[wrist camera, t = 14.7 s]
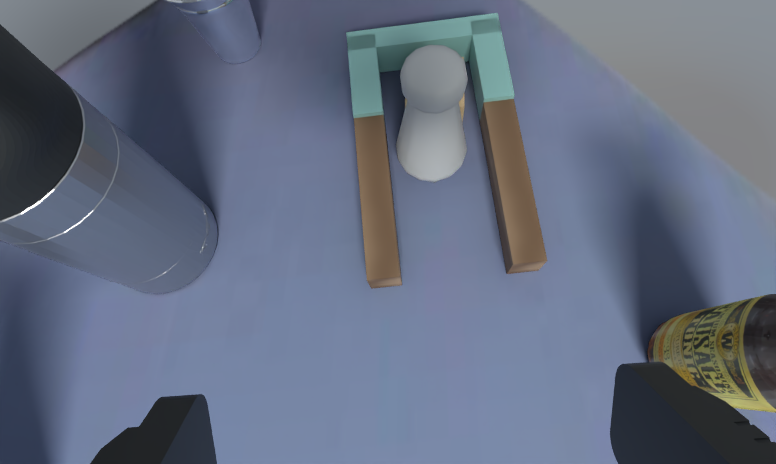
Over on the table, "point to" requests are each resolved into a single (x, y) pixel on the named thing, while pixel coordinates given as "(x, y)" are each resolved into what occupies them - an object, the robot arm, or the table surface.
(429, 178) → the salt shaker
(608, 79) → the table surface
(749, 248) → the table surface
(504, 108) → the slot
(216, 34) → the cup with straw
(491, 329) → the table surface
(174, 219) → the robot arm
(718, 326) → the sauce bottle
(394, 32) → the teal u-shaped block
